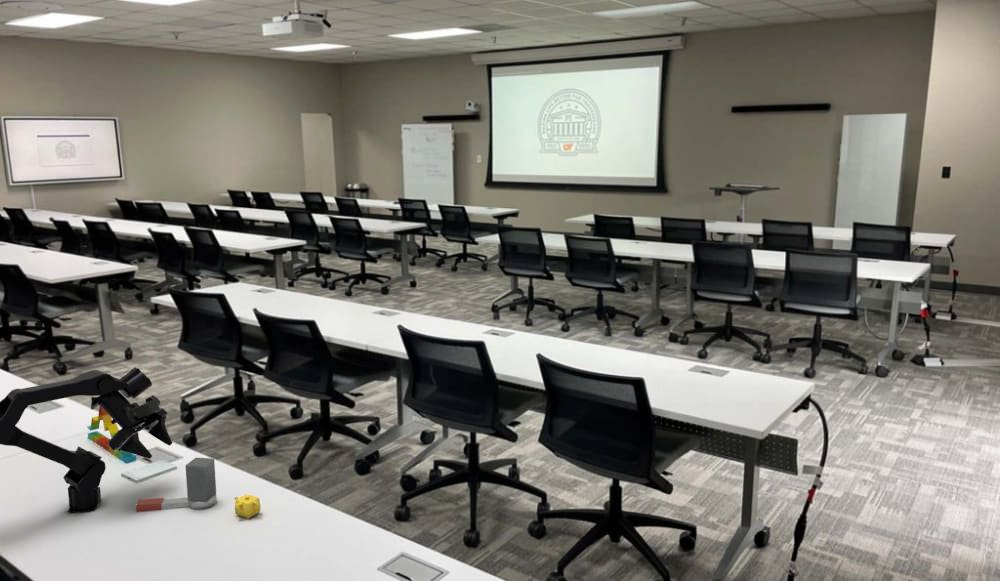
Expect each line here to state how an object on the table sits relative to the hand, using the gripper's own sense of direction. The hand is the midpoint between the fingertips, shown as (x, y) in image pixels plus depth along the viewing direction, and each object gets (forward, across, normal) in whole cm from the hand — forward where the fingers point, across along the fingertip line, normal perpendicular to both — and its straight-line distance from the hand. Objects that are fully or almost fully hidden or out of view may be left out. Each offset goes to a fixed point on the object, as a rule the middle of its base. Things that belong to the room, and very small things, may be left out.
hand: (161, 450), depth 196 cm
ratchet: (+14, -4, +5) cm, 15 cm away
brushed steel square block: (+17, -2, 0) cm, 17 cm away
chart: (-16, +29, +36) cm, 49 cm away
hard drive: (0, +15, +20) cm, 25 cm away
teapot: (+28, -6, -9) cm, 30 cm away
